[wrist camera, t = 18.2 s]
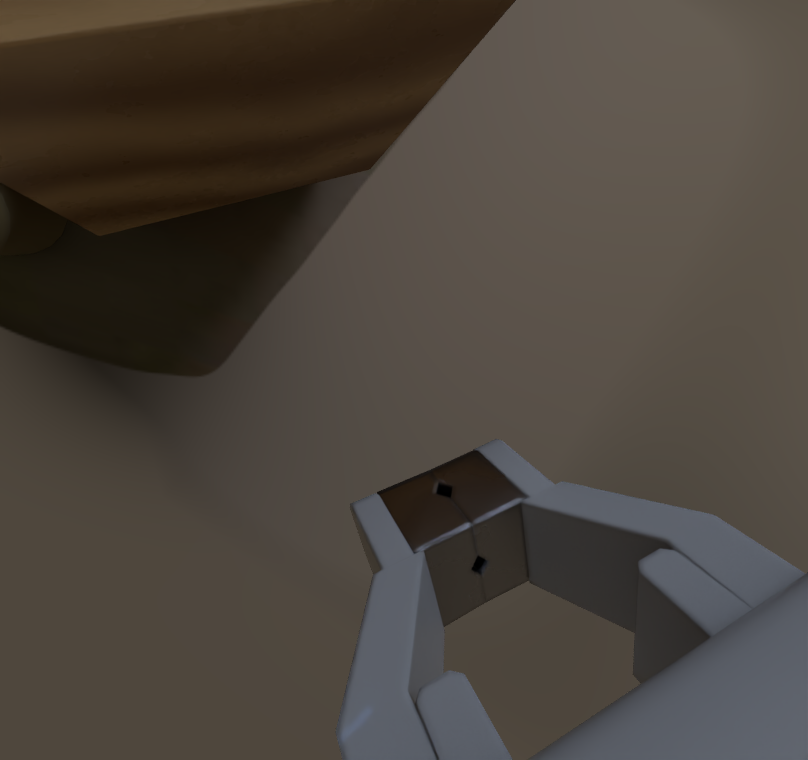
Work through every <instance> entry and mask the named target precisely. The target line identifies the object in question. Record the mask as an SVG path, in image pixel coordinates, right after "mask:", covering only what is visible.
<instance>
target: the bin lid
mask: <svg viewBox="0 0 808 760" xmlns="http://www.w3.org/2000/svg"><path fill="white" fill-rule="evenodd" d="M515 1H516V0H0V183H2V184H4V185H6V186H7V187H9V188H11V189H13V190H15V191H17V192H18V193H20V194H22V195H24V196H26V197H28V198H30V199H31V200H33V201H35V202H37V203H39V204H41V205H42V206H44V207H46V208H48V209H50V210H52V211H53V212H55V213H57V214H59V215H61V216H63V217H65V218H66V219H68V220H70V221H72V222H74V223H76V224H77V225H79V226H81V227H83V228H85V229H87V230H88V231H90V232H92V233H94V234H96V235H98V236H102V235H106V234H110V233H114V232H118V231H122V230H126V229H130V228H134V227H139V226H143V225H147V224H151V223H155V222H159V221H163V220H167V219H171V218H175V217H179V216H183V215H187V214H191V213H195V212H199V211H203V210H207V209H211V208H215V207H220V206H224V205H228V204H232V203H236V202H240V201H244V200H248V199H252V198H256V197H260V196H264V195H268V194H272V193H276V192H280V191H284V190H288V189H292V188H297V187H301V186H305V185H309V184H313V183H317V182H321V181H325V180H329V179H333V178H337V177H341V176H345V175H349V174H353V173H357V172H361V171H365V170H369V169H371V167H372V166H373V165H374V164H375V163H376V162H377V160H378V159H379V158H380V157H381V156H382V155H383V154H384V152H385V151H386V150H387V149H388V148H389V147H390V145H391V144H392V143H393V142H394V141H395V140H396V138H397V137H398V136H399V135H400V134H401V133H402V132H403V130H404V129H405V128H406V127H407V126H408V125H409V123H410V122H411V121H412V120H413V119H414V118H415V116H416V115H417V114H418V113H419V112H420V111H421V110H422V108H423V107H424V106H425V105H426V104H427V103H428V101H429V100H430V99H431V98H432V97H433V96H434V94H435V93H436V92H437V91H438V90H439V89H440V88H441V86H442V85H443V84H444V83H445V82H446V81H447V79H448V78H449V77H450V76H451V75H452V74H453V72H454V71H455V70H456V69H457V68H458V67H459V66H460V64H461V63H462V62H463V61H464V60H465V59H466V57H467V56H468V55H469V54H470V53H471V52H472V50H473V49H474V48H475V47H476V46H477V45H478V44H479V42H480V41H481V40H482V39H483V38H484V37H485V35H486V34H487V33H488V32H489V31H490V30H491V28H492V27H493V26H494V25H495V24H496V23H497V22H498V20H499V19H500V18H501V17H502V16H503V15H504V13H505V12H506V11H507V10H508V9H509V8H510V6H511V5H512V4H513V3H514V2H515Z"/></svg>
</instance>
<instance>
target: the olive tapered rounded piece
mask: <svg viewBox="0 0 808 760" xmlns="http://www.w3.org/2000/svg"><path fill="white" fill-rule="evenodd" d="M67 221H68V219H66V218H65V217H63V216H61V215H59V214H57V213H55V212H53V211H52V210H50V209H48V208H46V207H44V206H42V205H41V204H39V203H37V202H35V201H33V200H31V199H30V198H28V197H26V196H24V195H22V194H20V193H18V192H17V191H15V190H13V189H11V188H9V187H7V186H6V185H4V184H2V183H0V256H9V255H24V254H32V253H37V252H39V251H41V250H43V249H46V248H48V247H50V246H52V245H53V243H54V242H55V241H56V240H57V239H58V238H59V237H60V236H61V235H62V233H63V231H64V228H65V226H66V223H67Z"/></svg>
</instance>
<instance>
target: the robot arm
mask: <svg viewBox="0 0 808 760" xmlns="http://www.w3.org/2000/svg"><path fill="white" fill-rule="evenodd" d="M350 509H351V512H352V515H353V518H354V521H355V524H356V527H357V530H358V533H359V536H360V539H361V542H362V545H363V548H364V551H365V554H366V556H367V559H368V562H369V564H370V567H371V570H372V572H373V577H372V581H371V585H370V589H369V594H368V598H367V602H366V606H365V610H364V615H363V619H362V623H361V627H360V632H359V636H358V640H357V644H356V648H355V653H354V657H353V661H352V665H351V669H350V673H349V677H348V682H347V686H346V690H345V694H344V699H343V703H342V707H341V711H340V715H339V719H338V724H337V728H336V736H337V740H338V744H339V748H340V751H341V755H342V759H343V760H512V758H511V756H510V754H509V752H508V751H507V749H506V747H505V746H504V744H503V742H502V740H501V738H500V737H499V735H498V733H497V731H496V729H495V728H494V726H493V724H492V722H491V720H490V719H489V717H488V715H487V713H486V712H485V710H484V708H483V706H482V704H481V703H480V701H479V699H478V698H477V696H476V694H475V692H474V691H473V688H472V687H471V685H470V683H469V681H468V680H467V678H466V676H465V674H463V673H458V672H454V671H450V670H449V671H447V672H445V673H444V674H443V670H444V669H443V668H444V634H445V630H444V627H445V626H446V625H448V624H450V623H452V622H453V621H455V620H457V619H458V618H460V617H462V616H463V615H465V614H467V613H468V612H470V611H472V610H474V609H475V608H477V607H479V606H480V605H482V604H484V603H485V602H488V601H490V600H491V599H493V598H495V597H497V596H499V595H501V594H503V593H505V592H507V591H509V590H511V589H513V588H515V587H517V586H519V585H521V584H522V583H525V582H527V581H530V583H531V584H533V585H536V586H538V587H540V588H542V589H544V590H546V591H548V592H550V593H552V594H554V595H556V596H558V597H561V598H563V599H565V600H567V601H569V602H571V603H573V604H575V605H577V606H579V607H581V608H584V609H586V610H588V611H590V612H592V613H594V614H596V615H598V616H600V617H602V618H605V619H607V620H609V621H611V622H613V623H615V624H617V625H619V626H621V627H623V628H625V629H628V630H630V631H632V632H634V633H635V640H634V663H633V664H634V665H633V675H634V676H635V677H636V678H637V680H638V681H639V682H640V683H641V684H640V685H639V686H637V687H636V688H634V689H632V690H631V691H629V692H628V693H626V694H625V695H624V696H622V697H620V698H619V699H618V700H616V701H615V702H613V703H611V704H610V705H608V706H607V707H605V708H604V709H602V710H601V711H600V712H598V713H597V714H595V715H594V716H592V717H591V718H589V719H588V720H586V721H585V722H583V723H582V724H580V725H579V726H577V727H576V728H574V729H573V730H571V731H570V732H568V733H567V734H565V735H564V736H562V737H561V738H559V739H558V740H557V741H555V742H553V743H552V744H550V745H549V746H547V747H546V748H544V749H543V750H541V751H540V752H538V753H537V754H535V755H534V756H532V757H531V758H529V759H528V760H808V573H806V574H805V573H803V572H802V571H800V570H799V569H797V568H796V567H794V566H793V565H791V564H789V563H788V562H786V561H785V560H783V559H782V558H780V557H779V556H777V555H776V554H774V553H772V552H771V551H769V550H768V549H766V548H765V547H763V546H762V545H760V544H759V543H757V542H755V541H754V540H752V539H751V538H749V537H748V536H746V535H745V534H743V533H742V532H740V531H738V530H737V529H735V528H734V527H732V526H731V525H729V524H728V523H726V522H724V521H723V520H721V519H720V518H718V517H717V516H715V515H712V514H708V513H703V512H699V511H694V510H689V509H685V508H681V507H676V506H671V505H666V504H662V503H658V502H653V501H649V500H644V499H640V498H635V497H631V496H626V495H622V494H617V493H613V492H608V491H604V490H599V489H595V488H590V487H585V486H581V485H576V484H571V483H567V482H563V481H562V482H560V483H557V484H554V483H552V482H551V481H550V480H549V479H547V478H546V477H545V476H544V475H543V474H542V473H540V472H539V471H538V470H537V469H536V468H534V467H533V466H532V465H531V464H530V463H528V462H527V461H526V460H525V459H523V458H522V457H521V456H520V455H519V454H517V453H516V452H515V451H514V450H513V449H511V448H510V447H509V446H508V445H507V444H505V443H504V442H503V441H502V440H499V439H495V440H493V441H491V442H488V443H487V444H485V445H482V446H480V447H478V448H476V449H474V450H473V451H471V452H468V453H466V454H464V455H462V456H460V457H457V458H455V459H453V460H451V461H449V462H447V463H444V464H442V465H440V466H438V467H435V468H433V469H431V470H429V471H426V472H424V473H421V474H419V475H417V476H414V477H412V478H410V479H407V480H405V481H403V482H400V483H398V484H395V485H393V486H391V487H388V488H386V489H383V490H381V491H379V492H377V494H376V493H375V494H373V495H370V496H368V497H365V498H363V499H361V500H358V501H356V502H354V503H351V504H350Z"/></svg>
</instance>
